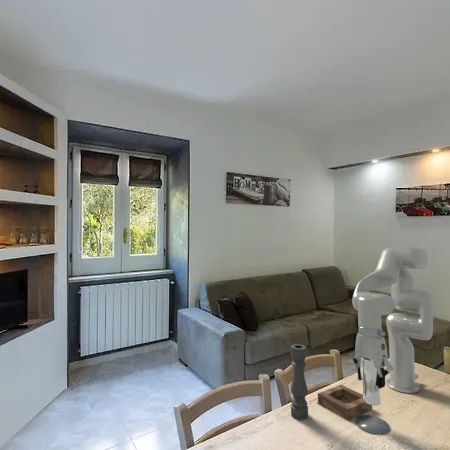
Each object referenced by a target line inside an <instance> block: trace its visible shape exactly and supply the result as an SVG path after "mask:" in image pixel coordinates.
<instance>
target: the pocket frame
mask: <svg viewBox="0 0 450 450" xmlns="http://www.w3.org/2000/svg"><path fill="white" fill-rule="evenodd" d="M362 395H363V393H360V392H358V391H356V390H353V389H352V388H349V387H347V386H346V385H343V384H339V385H336V386H334V387H331V388H329V389H326V390H324V391H321V392H318V393H317V404H318V405H319V406H322V407H323V408H324V409H326V410H328V411H330V412H331V413H333V414H335V415H337V416H339V417H341V418H342V419H344V420H346V421H348V422H349V421H351V420H355V419H356V418H357V417H358V416H361V415H365V414H366V413H368V412H370V411H373V405H369V404H367V403H365V402H364V401H363V400H362ZM342 399H343V400H344V401H346V402H349V403H348V404H347V403H344V402H343V401H341V400H342Z"/></svg>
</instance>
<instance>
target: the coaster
mask: <svg viewBox="0 0 450 450" xmlns="http://www.w3.org/2000/svg"><path fill="white" fill-rule="evenodd" d="M354 421H355V422H354V423H355V425H356V426H357V427H358V428H359V429H360V430H361V431H364V432H365V433H368V434H371V435H376V434H383V435H387V434H389V433H390V431H391V427H390V424H389V423H388V422H387V421H386V420H384V419H382V418H381V417H379V416H375V415H370V414H362V415H360V416H358V417H356V418H354Z"/></svg>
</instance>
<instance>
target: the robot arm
mask: <svg viewBox="0 0 450 450" xmlns="http://www.w3.org/2000/svg"><path fill="white" fill-rule="evenodd" d="M428 264H429V257H428V254H427V251H425V250H424V249H421V248H416V247H402V246H401V247H396V246H395V247H394V246H392V247H386V248H384V249H383V250H382V252H381V254H380V257H379V259H378V262H377V264H376V266H375V267H376V268H375V270H374V271H373V272H371V273H369V274H368V275H366V276H364V277H363V278H362V279H360V280H359V281H358V282H357V285H356V287H355V289H354V292H353V295H352V299H351V302H352V303H351V304H352V307H353V308H354V309H355V310H357V313H358V314H357V318H358V319H357V321H358V322H357V323H358V328H357V329H358V333H357V334H356V339H355V344H354V345H355V347H354V349H355V350H353V351H352V352H350V354H349V356H350V357H351V358H352V361H353V363H354V364H355V367H356V369H357V380H358V381H362V379H361V373H360V361H361V357H362V358H363V359H366V360H370V361H374V366H375V367H376V368H377V372H378V374H379V376H378V377H377V386H378V388H379V389H380V390H382V389H383V388H385V386H387V387H389V388H390V389H391V390H394V391H396V392H399V393H405V394H415V393H419V391H420V386H419V385H418V383H417V382H416V380H418V379H419V377H420V376H419V374H418V373H416V372H415V368H416V367H415V348H414V345H413V343H412V341H411V339H416V340H421V341H429V340H431V338H432V337H433V334H434V301H433V297H432V294H430V292H429V291H426V290H421V289H420V290H419V289H414V278H413V276H412V274H411V273H410V272H409V271H408V270H407V269H413V270H423V269H426V267H427V266H428ZM389 286H391V294H390V295H389V294H386V293H378V292H371V291H373V290H377V289H381V288H385V287H389ZM395 309H396V310H399V311H405V312H412V313H418V314H419V315H413V314H408V313H400V312H393V311H394V310H395ZM382 316H386V319H385V324H386V329H387V335H388V346H389V348H387V347H388V346H387V344H386V340H385V335H386V332H385V331H383V327H382ZM410 338H411V339H410ZM388 349H389V352H388ZM388 353H389V356H388ZM385 367H386V368H385ZM380 368H381V369H380ZM381 371H382V372H381ZM387 375H389V378H387V379H386V376H387Z"/></svg>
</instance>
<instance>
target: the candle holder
mask: <svg viewBox="0 0 450 450" xmlns="http://www.w3.org/2000/svg"><path fill="white" fill-rule="evenodd" d="M290 356H291V359H292V362H291V366H292V367H293V376H292V380H291V384H290V391H291V394H292V397H293V398H292V400H291V404H290V415H291V417H292V418H293V419H295V420H298V421H305V420H307V419H308V418H309V406H308V401H307V400H306V396H307V395H308V392H309V390H308V386H307V382H306V377H305V367H306V366H307V363H306V362H305V360H306V357H307V346H306V345H304V344H301V343H299V344H296V343H295V344H291V345H290Z"/></svg>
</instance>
